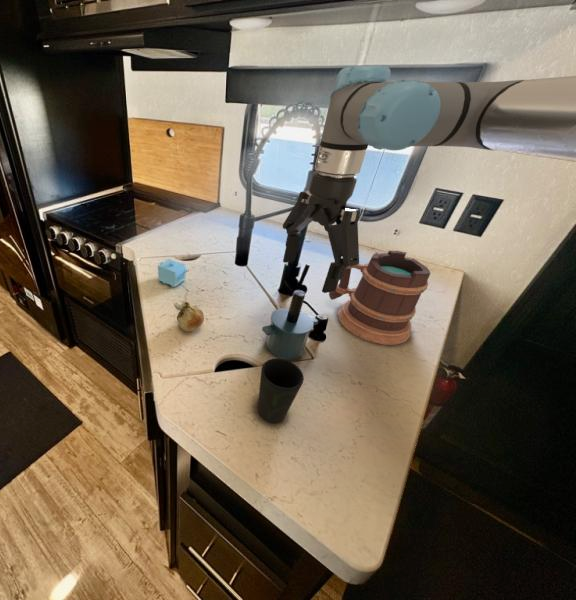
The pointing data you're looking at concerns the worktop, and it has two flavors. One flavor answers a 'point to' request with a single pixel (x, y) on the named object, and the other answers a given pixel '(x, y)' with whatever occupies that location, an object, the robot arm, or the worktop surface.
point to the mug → (383, 297)
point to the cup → (278, 389)
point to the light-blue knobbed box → (172, 272)
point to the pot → (286, 342)
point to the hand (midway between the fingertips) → (306, 275)
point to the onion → (189, 316)
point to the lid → (293, 317)
